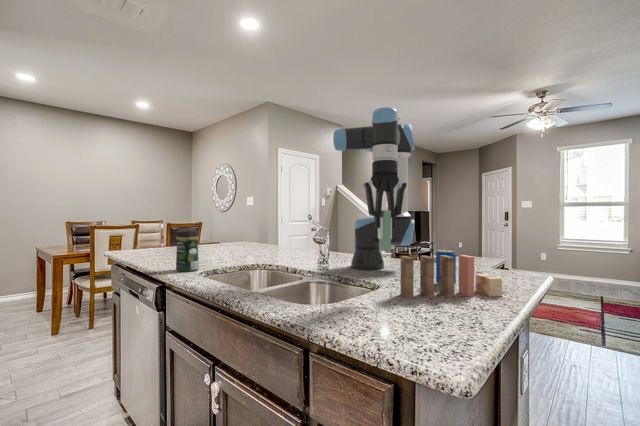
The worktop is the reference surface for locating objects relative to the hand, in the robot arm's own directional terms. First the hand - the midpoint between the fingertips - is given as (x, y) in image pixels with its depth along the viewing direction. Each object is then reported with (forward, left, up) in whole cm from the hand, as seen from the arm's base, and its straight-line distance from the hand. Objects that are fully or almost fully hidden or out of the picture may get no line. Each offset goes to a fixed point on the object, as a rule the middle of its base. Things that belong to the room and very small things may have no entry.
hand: (384, 238), depth 94 cm
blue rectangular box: (-13, +27, -18) cm, 35 cm away
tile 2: (0, +7, -18) cm, 19 cm away
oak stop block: (0, +34, -18) cm, 38 cm away
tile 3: (0, +14, -18) cm, 22 cm away
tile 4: (0, +20, -18) cm, 27 cm away
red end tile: (0, +27, -18) cm, 32 cm away
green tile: (0, 0, -3) cm, 3 cm away
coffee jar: (-53, -72, -18) cm, 91 cm away
